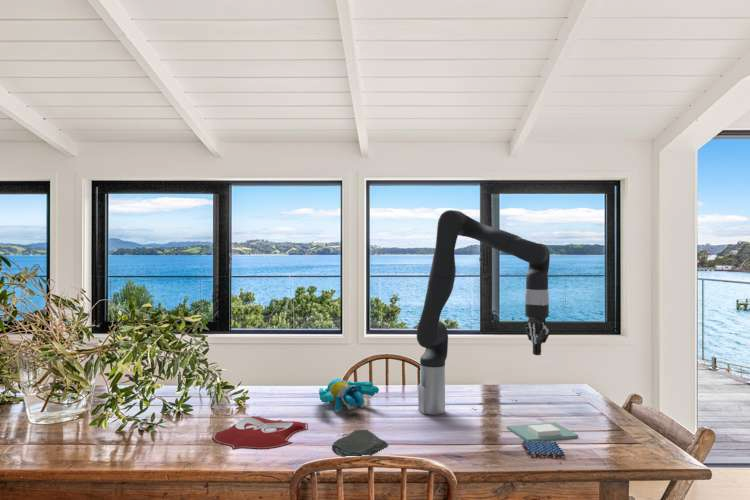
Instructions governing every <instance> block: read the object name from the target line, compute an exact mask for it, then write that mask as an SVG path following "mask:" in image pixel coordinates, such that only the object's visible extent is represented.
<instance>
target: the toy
mask: <svg viewBox="0 0 750 500" xmlns="http://www.w3.org/2000/svg"><path fill="white" fill-rule="evenodd" d="M379 391H380V389H379V387H378V386H376V385H374V384H373V382H371V381H353V382H352V381H351V380H349V381H346V380H345V379H344V380H343V379H341V378H336V379H335V378H334V379H332V380H331V381H330V382H329V383H328V385H327V387H326V388H325V389H324V388H323V387H320V388H319V390H318V395H319V400H320V401H321V403H326V404H328V403H329V404H333V406H334V412H335V413H338V412H339V411H340V410H343V409H344V406H343V405H345V406H346V407H347V408H348V409H347V410H352V409H353V408H354V407H356V406H357V408H361V409H362V408H363V407H365V406H364V405H365V400H364V398H363V395H365V396H369V397H374V396H375V395H376V394H378V393H379Z"/></svg>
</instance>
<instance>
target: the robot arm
mask: <svg viewBox="0 0 750 500" xmlns="http://www.w3.org/2000/svg"><path fill="white" fill-rule="evenodd" d="M436 227H437V228H436V237H435V239H436V240H435V248H434V253H433V257H432V263H431V267H430V271H429V276H428V277H429V278H428V281H427V289H426V294H425V299H424V304H423V308H422V312H421V316H420V319H419V322H418V325H417V330H416V340H417V343H418V344H419V346H420V347H422V348H424V349H425V351H424V352H423V354H422V355H421V357H420V359H419V360H420V361H419V363H420V365H419V366H420V367H419V369H420V371H419V372H420V373H419V375H420V377H419V380H420V381H419V384H417V385H418V387H417V389H418V393H417V395H418V396H417V397H418V401H417V402H418V404H417V405H418V406H417V409H418V411H420V412H421V413H422V415H431V416H432V415H433V416H434V415H436V416H437V415H442V414H444V413H446V360H447V358H448V350H449V349H448V346H449V333H448V329H447V326H446V325H445V324H444V323H443V322H442V321H440V317H441V314H442V311H443V309H444V307H445V305H446V304H447V302H448V300H449V298H450V297H451V294H452V292H453V289H454V285H455V280H456V273H457V269H456V257H455V249H456V244H457V241H458V237H459V236H460V237H466V238H471V239H474V240H476V241H478V242H480V243H483V244H485V245H486V246H488V247H490V248H492V249H494V250H496V251H499V252H502V253H505V254H508V255H510V256H514V257H516V258H518V259H519V260H522V261H524V262H526V263H528V272H527V273H526V277H525V295H524V299H525V300H524V301H525V303H524V304H525V305H524V306H525V308H524V310H525V311H524V312H525V313H524V314H525V315H524V316H525V317H526V318H528V321H527V324H524V327H523V328H524V331H525V333H526V335H527V338H528V340H529V341H530V342H531V344H532V355H534V356H541V355H542V344H545V343H546V342H547V339H548V338H549V335H550V334H551V329H550V328H547V321H546V319H548V318H549V317H550V295H549V277H548V276H549V269H550V260H551V259H550V257H551V256H550V249H549V248H548V247H547V245H545V244H544V243H537V242H535V241H532V240H528V239H526V238H525V239H524V238H522V237H521V236H519V235H516V234H514V233H511V232H508V231H506V230H502V229H500V228H496V227H494V226H491V225H487V224H484V223H482V222H479V221H478V220H476V219H473V218H472V217H470V216H469V215H467V214H465V213H463V212H462V211H459V210H453V209H447V210H445V211H443V212H442V213H441V214H440V215H439V217H438V221H437V225H436Z"/></svg>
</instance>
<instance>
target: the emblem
mask: <svg viewBox="0 0 750 500" xmlns="http://www.w3.org/2000/svg"><path fill="white" fill-rule="evenodd" d="M308 424H309V423H308V422H301V421H294V420H293V421H292V420H291V421H289V420H287V421H285V420H284V421H282V419H277V420H276V419H275V420H273V419H268V418H264V417H260V416H255V415H253V416H248V417H244V418H243V419H240V420H239V421H237V422H236V423H234V424H233V425H232V426H230V427H229V428H226V429H224V430H219V431H215V432H214V433H213V435H212V441H213V442H214V443H216V444H219V445H223V446H225V447H230V448H231V450H232V451H233V450H239V449H244V450H245V449H247V450H272V449H278V448H279V449H280V448H281V447H286V446H289V445H292V444H293V442H292V441H289V439H291V438H292V436H294V435H295V434H297V433H301V432H303V431H309V426H308Z"/></svg>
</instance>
